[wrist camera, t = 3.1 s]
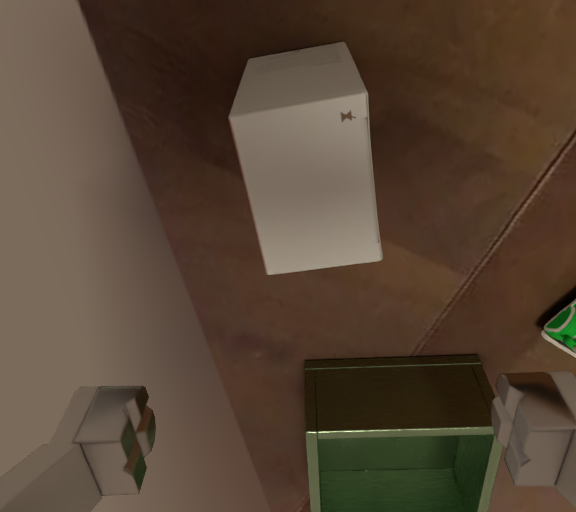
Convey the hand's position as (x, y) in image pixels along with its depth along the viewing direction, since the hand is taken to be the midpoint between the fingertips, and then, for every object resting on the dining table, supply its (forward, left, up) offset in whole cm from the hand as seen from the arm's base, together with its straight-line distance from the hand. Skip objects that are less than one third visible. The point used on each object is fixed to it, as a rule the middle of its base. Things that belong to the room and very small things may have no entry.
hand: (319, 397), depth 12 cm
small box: (0, 0, -22) cm, 22 cm away
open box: (+6, -26, -22) cm, 35 cm away
